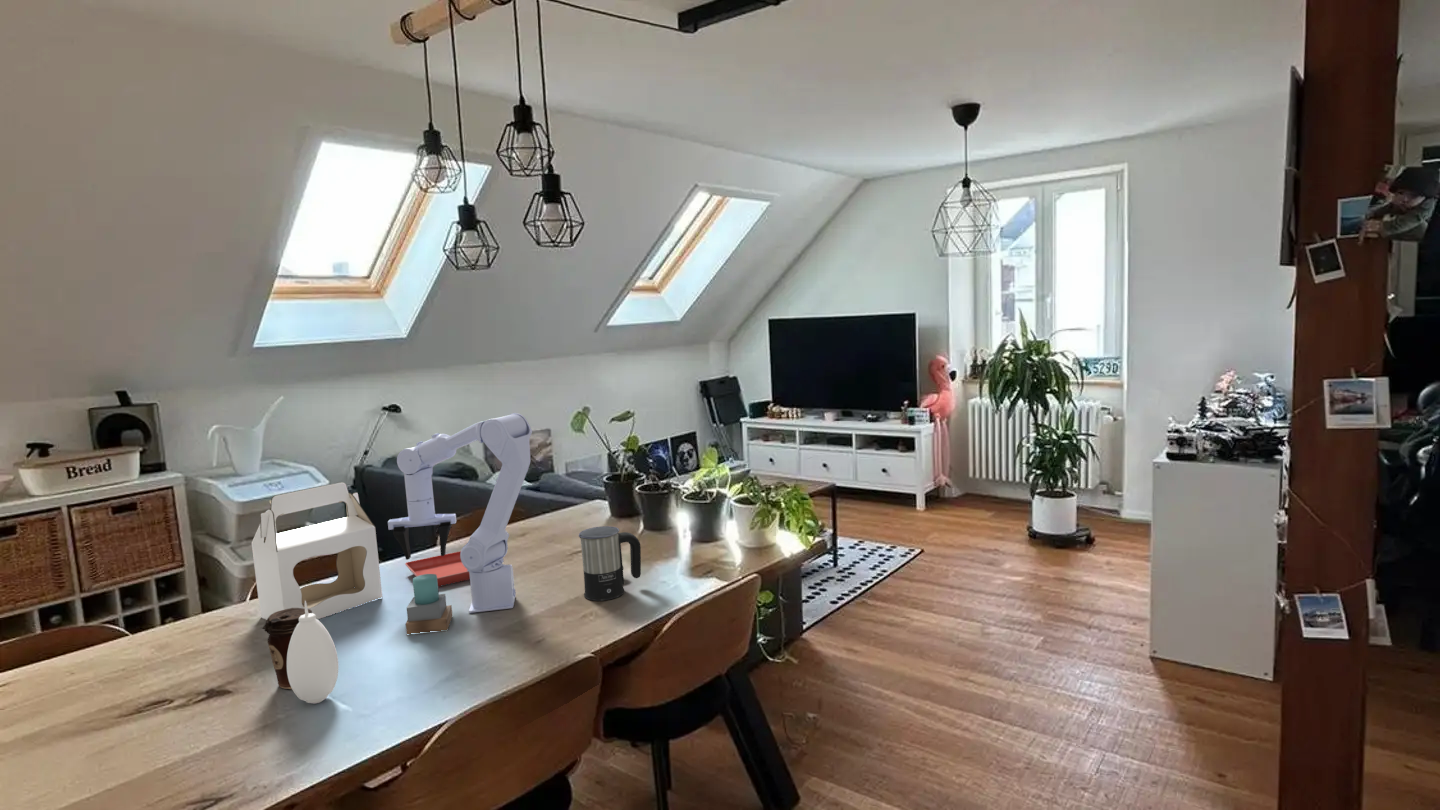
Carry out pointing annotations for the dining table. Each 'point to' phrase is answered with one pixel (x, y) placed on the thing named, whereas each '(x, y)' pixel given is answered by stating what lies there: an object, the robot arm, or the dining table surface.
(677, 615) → the dining table surface
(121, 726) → the dining table surface
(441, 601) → the gray block
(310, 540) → the gable box
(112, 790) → the dining table surface
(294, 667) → the sauce bottle
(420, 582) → the teal cylinder
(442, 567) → the plant saucer
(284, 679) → the coffee cup
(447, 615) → the walnut slab
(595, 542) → the milk frother
